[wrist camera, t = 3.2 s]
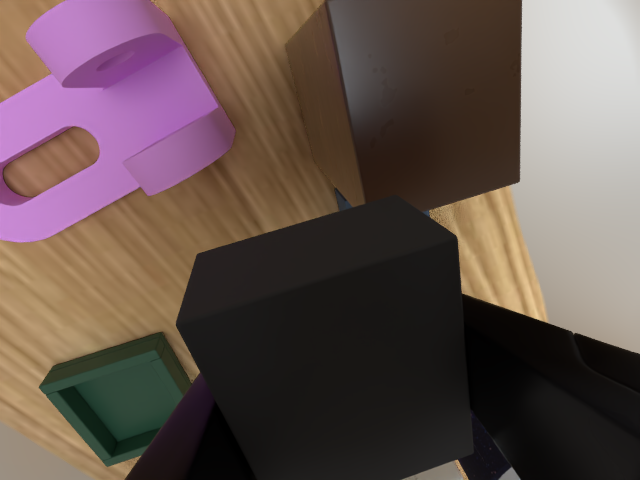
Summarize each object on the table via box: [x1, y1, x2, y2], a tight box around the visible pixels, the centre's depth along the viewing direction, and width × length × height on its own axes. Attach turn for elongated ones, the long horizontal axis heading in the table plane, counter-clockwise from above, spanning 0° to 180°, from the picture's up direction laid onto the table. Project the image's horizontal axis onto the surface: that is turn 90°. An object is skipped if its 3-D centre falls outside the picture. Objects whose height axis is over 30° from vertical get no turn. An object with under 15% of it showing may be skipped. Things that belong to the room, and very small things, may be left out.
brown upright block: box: [285, 0, 522, 212], centre depth 14 cm, size 6×5×10 cm
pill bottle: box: [458, 410, 521, 480], centre depth 21 cm, size 6×6×12 cm
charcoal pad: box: [176, 195, 474, 480], centre depth 8 cm, size 6×4×2 cm
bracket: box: [0, 0, 236, 242], centre depth 14 cm, size 13×6×7 cm, turn 117°
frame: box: [39, 332, 192, 467], centre depth 23 cm, size 8×7×2 cm
